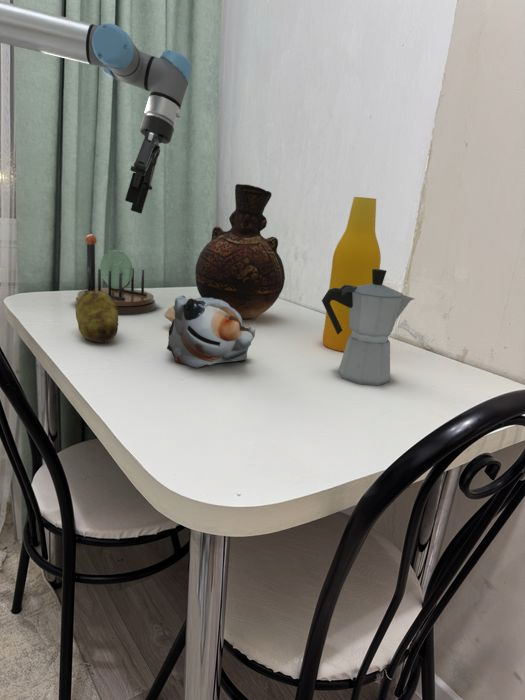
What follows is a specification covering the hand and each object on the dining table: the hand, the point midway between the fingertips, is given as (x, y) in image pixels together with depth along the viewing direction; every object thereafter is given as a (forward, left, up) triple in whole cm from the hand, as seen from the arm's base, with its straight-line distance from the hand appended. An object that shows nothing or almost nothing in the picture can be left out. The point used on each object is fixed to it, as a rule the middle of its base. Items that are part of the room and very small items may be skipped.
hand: (133, 207), depth 122 cm
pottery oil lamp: (+27, -16, -23) cm, 39 cm away
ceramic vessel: (+28, +4, -23) cm, 36 cm away
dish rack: (+2, -8, -21) cm, 23 cm away
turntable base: (+2, -8, -23) cm, 24 cm away
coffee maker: (+64, -21, -23) cm, 71 cm away
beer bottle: (+57, -4, -23) cm, 61 cm away
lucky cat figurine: (+41, -30, -23) cm, 56 cm away
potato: (+17, -31, -23) cm, 42 cm away
